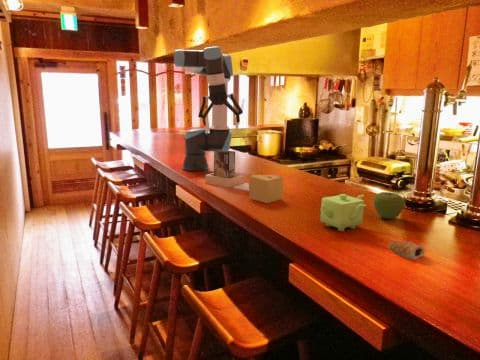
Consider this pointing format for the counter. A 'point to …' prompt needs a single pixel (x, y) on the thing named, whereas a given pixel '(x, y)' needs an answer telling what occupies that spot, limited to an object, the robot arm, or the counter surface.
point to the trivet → (243, 187)
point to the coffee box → (224, 164)
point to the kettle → (342, 211)
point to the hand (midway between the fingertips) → (222, 130)
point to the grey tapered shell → (407, 249)
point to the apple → (388, 204)
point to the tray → (224, 180)
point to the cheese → (265, 188)
